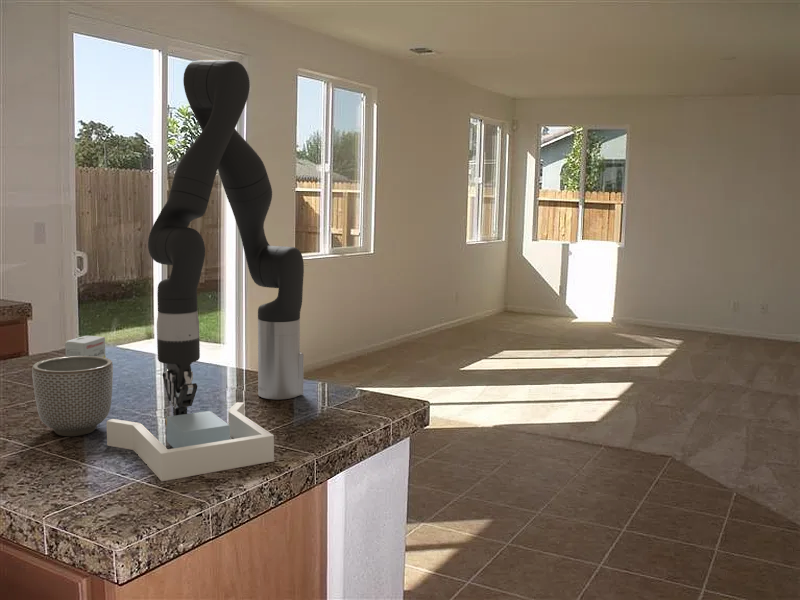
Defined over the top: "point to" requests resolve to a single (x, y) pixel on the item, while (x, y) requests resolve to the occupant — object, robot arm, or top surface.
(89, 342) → the ink box
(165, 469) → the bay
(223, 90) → the robot arm
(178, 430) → the light blue box
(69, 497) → the top surface
